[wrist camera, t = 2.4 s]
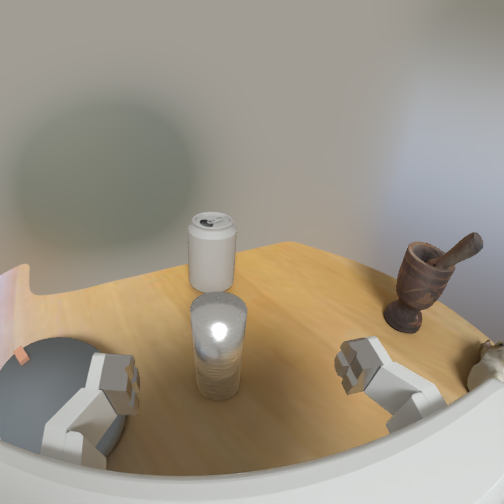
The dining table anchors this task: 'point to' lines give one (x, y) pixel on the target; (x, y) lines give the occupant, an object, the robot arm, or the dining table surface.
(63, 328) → the dining table surface
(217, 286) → the can
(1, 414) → the disc
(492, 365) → the ceramic sculpture
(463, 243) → the mortar and pestle
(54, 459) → the robot arm
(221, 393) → the clear drinking glass
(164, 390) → the dining table surface
